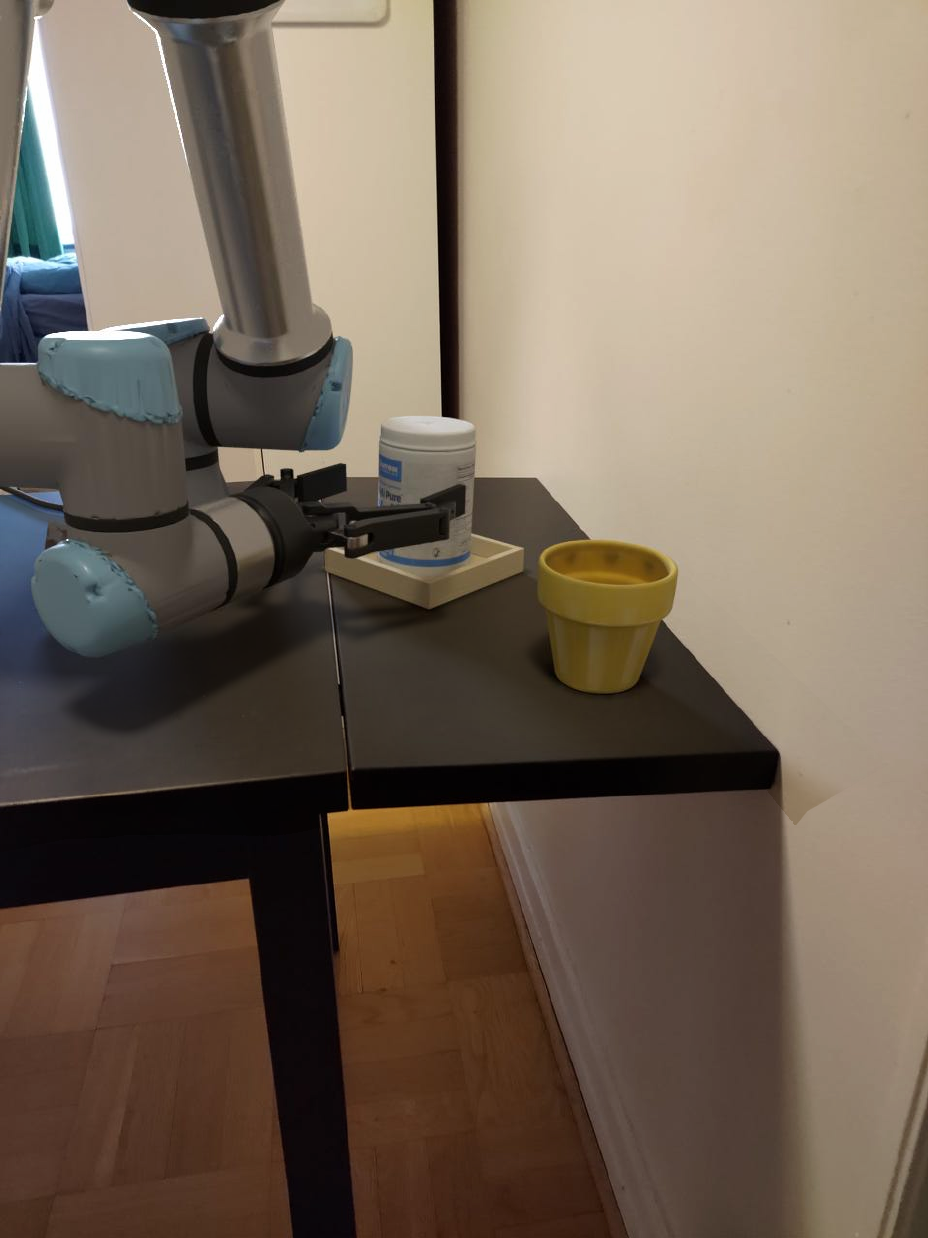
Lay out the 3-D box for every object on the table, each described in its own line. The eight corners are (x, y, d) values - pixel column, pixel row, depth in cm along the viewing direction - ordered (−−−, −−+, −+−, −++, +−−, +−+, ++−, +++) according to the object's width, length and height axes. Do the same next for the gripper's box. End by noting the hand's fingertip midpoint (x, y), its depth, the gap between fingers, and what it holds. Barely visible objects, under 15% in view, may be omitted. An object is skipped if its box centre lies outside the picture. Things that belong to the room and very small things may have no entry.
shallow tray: (325, 571, 88) (324, 547, 87) (421, 540, 98) (421, 518, 97) (429, 609, 79) (429, 583, 78) (523, 571, 89) (524, 548, 88)
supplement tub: (363, 574, 85) (361, 427, 79) (397, 547, 94) (397, 411, 88) (455, 587, 83) (460, 436, 77) (482, 558, 91) (488, 419, 85)
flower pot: (594, 721, 61) (608, 594, 57) (504, 667, 69) (511, 551, 65) (689, 685, 67) (708, 567, 63) (597, 638, 74) (608, 531, 70)
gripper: (134, 559, 71) (300, 504, 88) (377, 627, 60) (514, 549, 77) (123, 471, 68) (297, 431, 85) (376, 525, 57) (519, 467, 74)
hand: (400, 487), depth 81 cm, fingers open, 13 cm apart
